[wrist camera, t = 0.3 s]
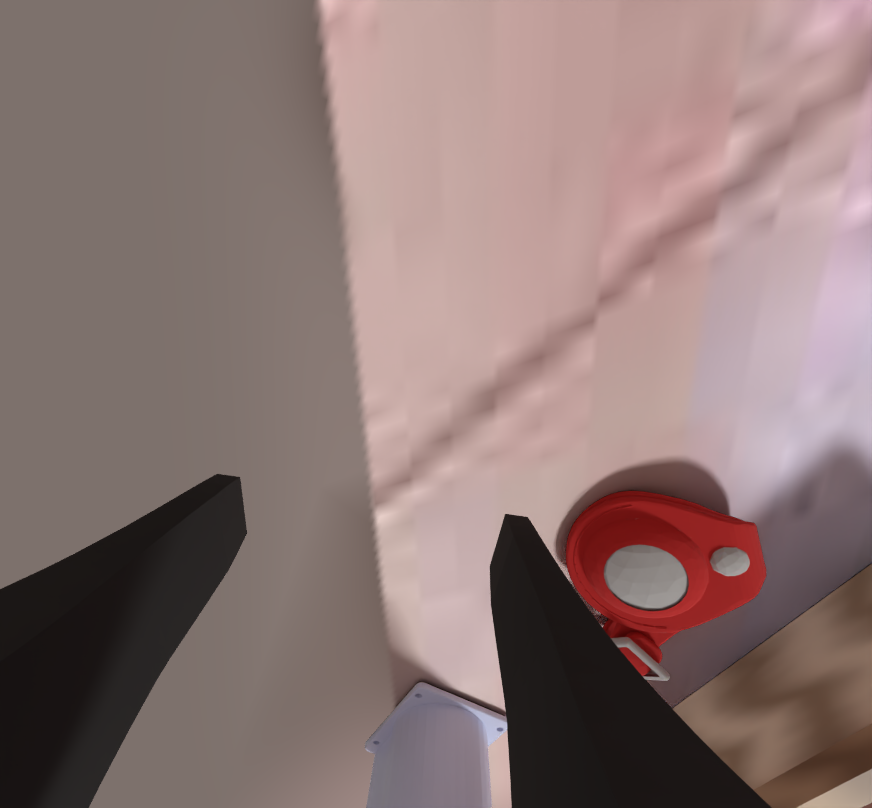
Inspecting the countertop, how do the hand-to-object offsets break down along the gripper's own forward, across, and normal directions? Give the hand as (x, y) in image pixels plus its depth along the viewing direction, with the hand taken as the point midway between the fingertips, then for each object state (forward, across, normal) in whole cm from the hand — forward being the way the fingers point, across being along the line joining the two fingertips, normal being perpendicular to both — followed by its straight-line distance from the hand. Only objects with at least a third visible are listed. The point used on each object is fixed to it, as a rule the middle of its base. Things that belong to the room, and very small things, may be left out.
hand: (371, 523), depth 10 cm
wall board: (+8, -26, +15) cm, 30 cm away
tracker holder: (+9, -14, +9) cm, 19 cm away
